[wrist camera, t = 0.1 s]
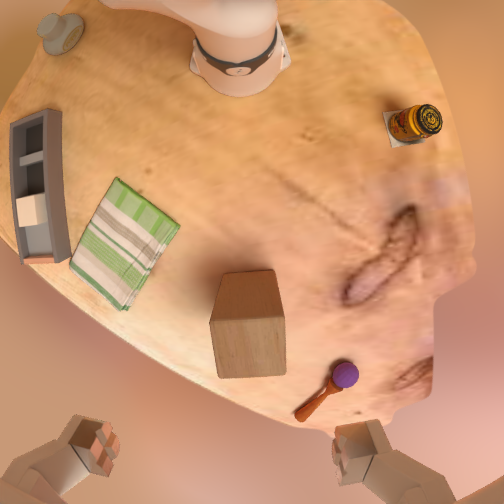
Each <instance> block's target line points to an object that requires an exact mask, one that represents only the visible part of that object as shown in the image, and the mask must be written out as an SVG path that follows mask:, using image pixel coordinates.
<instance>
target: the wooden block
mask: <svg viewBox="0 0 504 504" xmlns="http://www.w3.org/2000/svg"><path fill="white" fill-rule="evenodd" d="M209 324H210V331H211V337H212V343H213V350H214V356H215V362H216V367H217V373H218V377H219V378H221V379H224V378H250V377H267V376H280V375H285V374H286V337H285V316H284V311H283V307H282V302H281V297H280V292H279V288H278V283H277V278H276V274H275V271H273V270H269V271H255V272H240V273H225V274H223V277H222V281H221V284H220V288H219V291H218V294H217V298H216V301H215V305H214V308H213V311H212V315H211V318H210V322H209Z"/></svg>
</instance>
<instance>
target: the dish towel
mask: <svg viewBox="0 0 504 504" xmlns="http://www.w3.org/2000/svg"><path fill="white" fill-rule="evenodd" d="M119 180H120V178H118V177H116V178H115V180H114V181H113V183H112V185H111V186H110V188H109V190H108V191H107V193H106V195H105V196H104V198H103V199H102V201H101V203H100V204H99V206H98V208H97V210H96V212H95V214H94V215H93V217H92V219H91V221H90V223H89V225H88V226H87V228H86V230H85V231H84V233H83V235H82V237H81V240H80V242H79V244H78V247H77V249H76V251H75V253H74V255H73V257H72V259H71V261H70V263H69V268H70V270H71V271H72V272H73V273H74V274H75V275H76V276H77V277H79V278H80V279H81V280H82V281H83V282H85V283H86V284H87V285H88V286H90V287H91V288H92V289H93V290H95V291H96V292H97V293H99V294H100V295H101V296H102V297H103V298H105V299H106V300H107V301H108V302H109V303H110V304H111V305H112V306H113V307H114V308H115V309H116V310H117V311H118V312H120V311H121V310H123V311H124V310H126V311H128V309H129V307H130V306H131V305H132V303H133V302H134V300H135V298H136V296H137V294H138V293H139V291H140V289H141V288H142V286H143V285H144V283H145V281H146V280H147V277H148V276H149V273H150V271H151V269H152V268H153V266H154V264H155V263H156V262H157V260H158V259H159V257H160V256H161V255H162V253H163V252H164V250H165V248H166V247H167V245H168V244H169V243H170V241H171V240H172V238H173V237H174V235H175V234H176V232H177V231H178V229H179V228H180V225H179V224H177V223H176V222H174V221H173V220H172V219H171V218H170V217H169V216H167V215H166V214H165V213H163V212H162V211H161V210H159V209H158V208H157V207H156V206H154V205H153V204H152V203H151V202H149V201H148V200H146V199H145V198H144V197H142V196H141V195H139V194H138V193H137V192H135V191H134V190H133V189H132V188H130V187H129V186H128V185H127V184H125V183H124V182H123V181H121V182H120V181H119Z"/></svg>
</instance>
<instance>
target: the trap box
mask: <svg viewBox="0 0 504 504" xmlns="http://www.w3.org/2000/svg"><path fill="white" fill-rule="evenodd" d="M9 161H10V185H11V198H12V209H13V218H14V225H15V232H16V239H17V245H18V251H19V256H20V261H21V264H45V263H60V262H62V261H63V260H65V259H67V258H69V257H71V256H72V252H71V246H70V240H69V233H68V226H67V218H66V209H65V198H64V186H63V170H62V112H60V111H56V110H52V109H45V110H42V111H40V112H37V113H35V114H32V115H30V116H27V117H25V118H22V119H20V120H18V121H15V122H13V123H11V124H10V140H9ZM38 194H45V199H46V209H47V218H48V222H45V223H41V224H38V225H31V226H24V227H19V222H18V214H17V204H16V199H19V198H24V197H28V196H33V195H38Z"/></svg>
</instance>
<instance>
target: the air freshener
mask: <svg viewBox="0 0 504 504" xmlns="http://www.w3.org/2000/svg"><path fill="white" fill-rule="evenodd" d="M83 28H84V23H83V20H82V18H81V17H80V16H79V15H77V14H66V15H63V16H61V17H60V16H59V15H57V14H56V13H52V14H50V15H47V16H46V17H45V18H44V19H43V20H42V21H41V22H40V24H39V25H38V28H37V34H38V35H39V36H40V37H42V38H43V47H44V50H45V51H46V52H47V53H48V54H50V55H60V54H63V53H65V52H67V51H68V50H70V49H71V48H72V47H73V46H74V45H75V44H76V43H77V41H78V40H79V38H80V36H81V34H82V32H83Z"/></svg>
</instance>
